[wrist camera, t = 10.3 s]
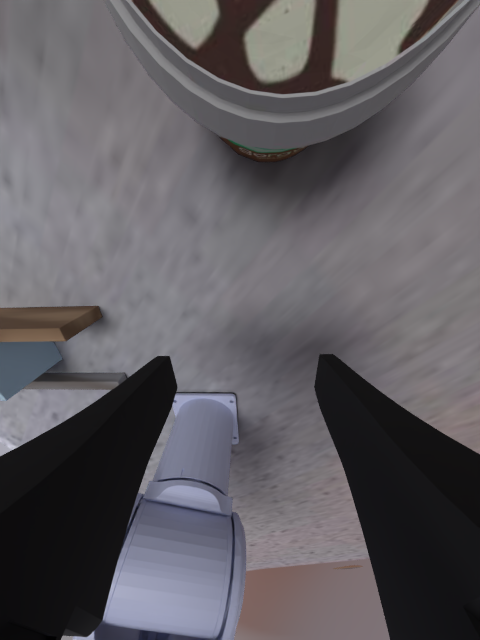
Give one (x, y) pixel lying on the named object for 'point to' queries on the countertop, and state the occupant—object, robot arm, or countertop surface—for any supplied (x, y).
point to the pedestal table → (55, 327)
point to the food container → (285, 62)
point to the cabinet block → (24, 364)
